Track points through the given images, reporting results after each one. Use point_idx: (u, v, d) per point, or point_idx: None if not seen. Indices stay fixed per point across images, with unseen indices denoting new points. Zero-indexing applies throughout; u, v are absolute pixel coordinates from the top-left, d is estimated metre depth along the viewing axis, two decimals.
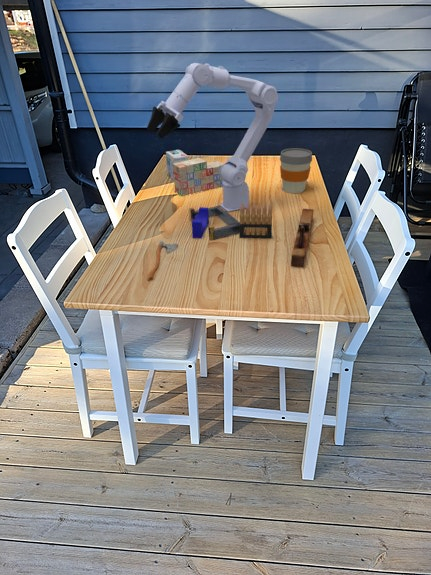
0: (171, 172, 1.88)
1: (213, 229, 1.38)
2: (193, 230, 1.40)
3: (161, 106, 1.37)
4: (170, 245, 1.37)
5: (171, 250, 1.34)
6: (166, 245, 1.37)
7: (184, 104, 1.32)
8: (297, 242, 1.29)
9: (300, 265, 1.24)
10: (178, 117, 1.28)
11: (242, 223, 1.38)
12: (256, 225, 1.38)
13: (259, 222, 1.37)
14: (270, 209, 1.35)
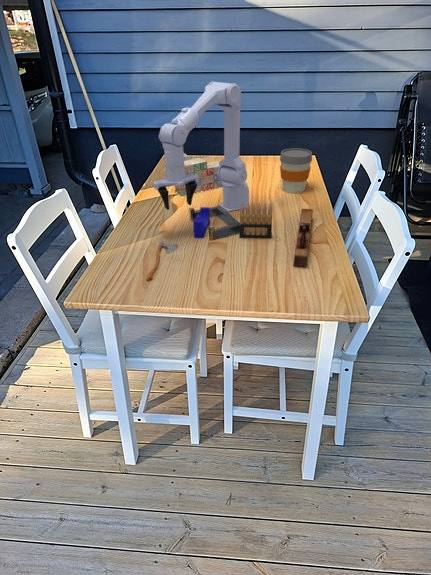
0: None
1: (213, 229, 1.38)
2: (195, 230, 1.40)
3: (162, 185, 1.32)
4: (170, 245, 1.37)
5: (171, 250, 1.34)
6: (166, 245, 1.37)
7: None
8: (299, 242, 1.29)
9: (303, 266, 1.24)
10: None
11: (242, 223, 1.38)
12: (256, 225, 1.38)
13: (259, 222, 1.37)
14: (270, 209, 1.35)
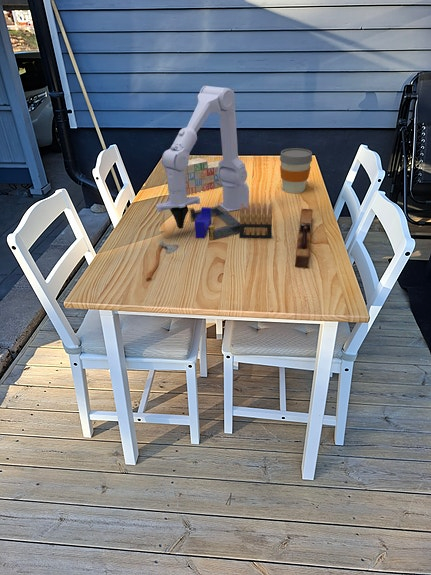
0: None
1: (213, 229, 1.38)
2: (196, 230, 1.40)
3: (164, 207, 1.36)
4: (170, 245, 1.37)
5: (171, 250, 1.34)
6: (166, 245, 1.37)
7: None
8: (300, 242, 1.29)
9: (305, 266, 1.24)
10: None
11: (242, 223, 1.38)
12: (256, 225, 1.38)
13: (259, 222, 1.37)
14: (270, 209, 1.35)
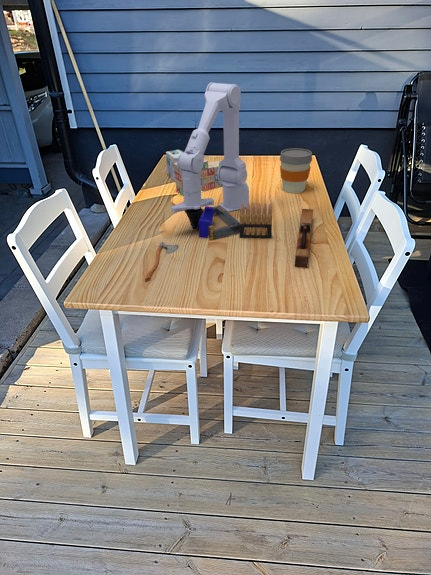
0: (171, 172, 1.88)
1: (213, 229, 1.38)
2: (200, 229, 1.40)
3: None
4: (170, 246, 1.36)
5: (171, 251, 1.34)
6: (166, 246, 1.36)
7: None
8: (300, 242, 1.29)
9: (304, 266, 1.24)
10: None
11: (242, 223, 1.38)
12: (256, 225, 1.38)
13: (259, 222, 1.37)
14: (270, 209, 1.35)
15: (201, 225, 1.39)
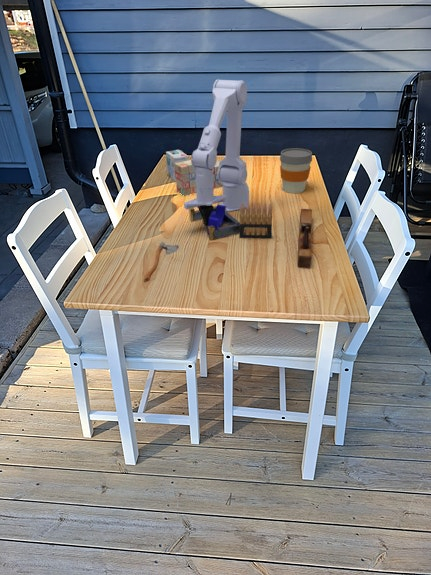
0: (171, 172, 1.88)
1: (213, 229, 1.38)
2: None
3: None
4: (170, 246, 1.36)
5: (171, 251, 1.34)
6: (166, 246, 1.36)
7: None
8: (302, 243, 1.29)
9: (307, 266, 1.24)
10: None
11: (242, 223, 1.38)
12: (256, 225, 1.38)
13: (259, 222, 1.37)
14: (270, 209, 1.35)
15: (210, 223, 1.40)
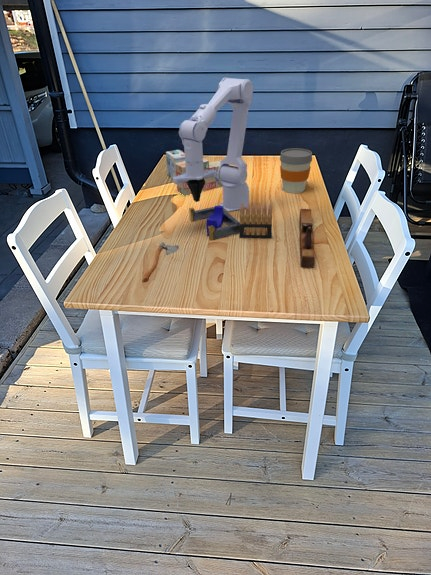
0: (171, 172, 1.88)
1: (213, 229, 1.38)
2: None
3: (181, 180, 1.36)
4: (170, 246, 1.36)
5: (171, 251, 1.34)
6: (166, 246, 1.36)
7: None
8: (304, 243, 1.28)
9: (311, 266, 1.23)
10: None
11: (242, 223, 1.38)
12: (256, 225, 1.38)
13: (259, 222, 1.37)
14: (270, 209, 1.35)
15: (208, 224, 1.40)
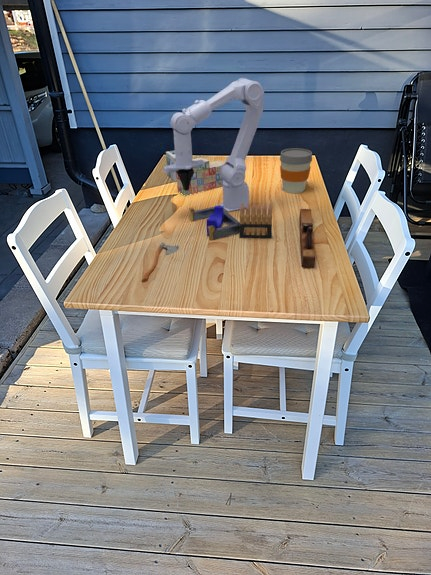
0: (171, 172, 1.88)
1: (213, 229, 1.38)
2: None
3: None
4: (171, 247, 1.36)
5: (171, 252, 1.34)
6: (167, 246, 1.36)
7: None
8: (304, 243, 1.28)
9: (311, 266, 1.23)
10: None
11: (242, 223, 1.38)
12: (256, 225, 1.38)
13: (259, 222, 1.37)
14: (270, 209, 1.35)
15: (208, 224, 1.40)
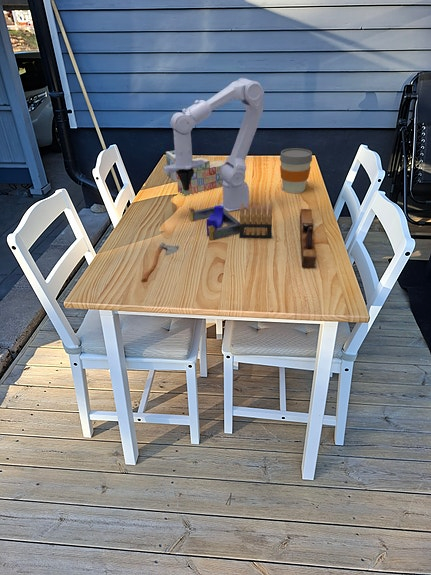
0: (171, 172, 1.88)
1: (213, 229, 1.38)
2: None
3: None
4: (171, 247, 1.36)
5: (171, 252, 1.33)
6: (167, 246, 1.36)
7: None
8: (305, 243, 1.28)
9: (312, 266, 1.23)
10: None
11: (242, 223, 1.38)
12: (256, 225, 1.38)
13: (259, 222, 1.37)
14: (270, 209, 1.35)
15: (208, 224, 1.40)
